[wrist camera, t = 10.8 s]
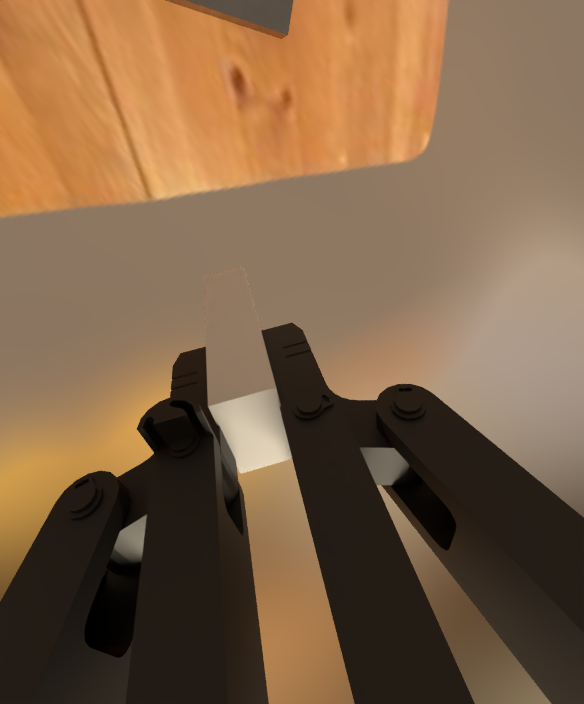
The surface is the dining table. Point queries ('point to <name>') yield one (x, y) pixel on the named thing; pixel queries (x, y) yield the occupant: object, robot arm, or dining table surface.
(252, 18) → the dial housing
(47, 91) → the dining table surface
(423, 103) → the dining table surface
